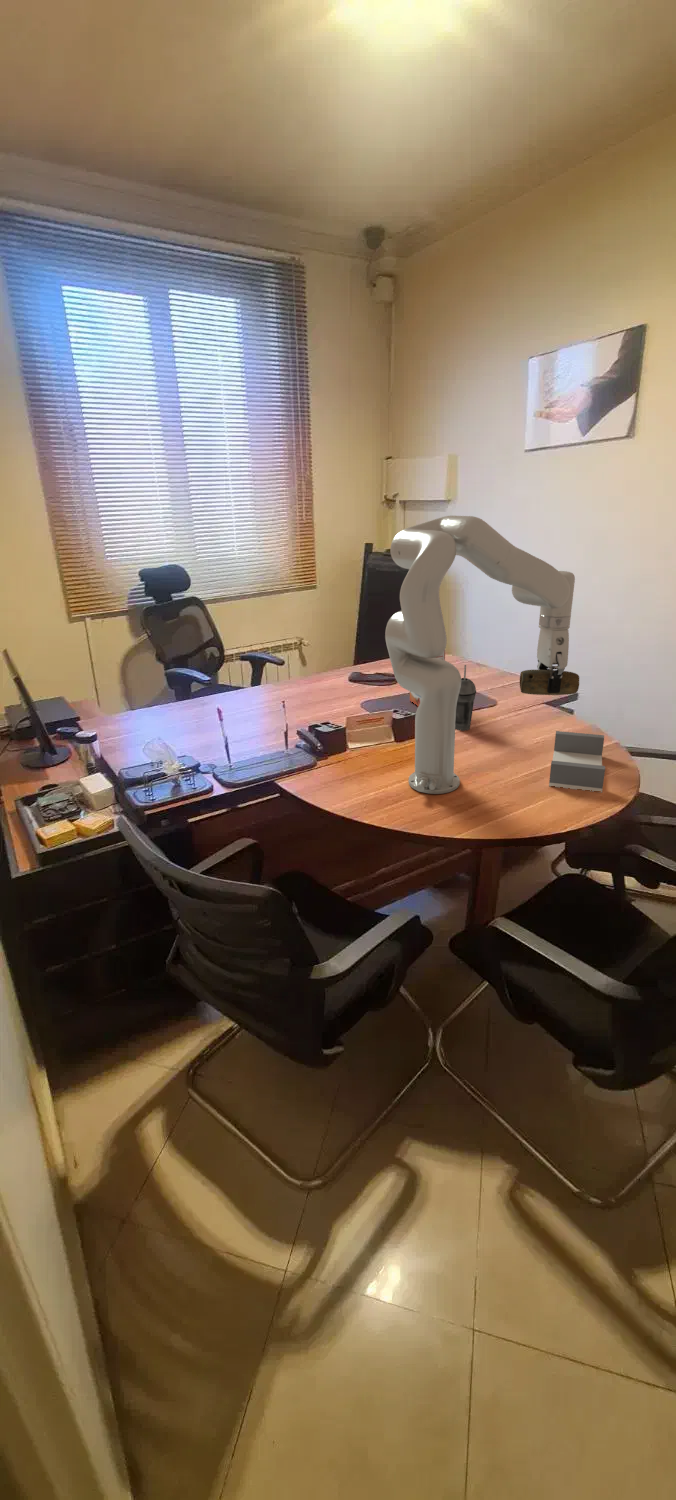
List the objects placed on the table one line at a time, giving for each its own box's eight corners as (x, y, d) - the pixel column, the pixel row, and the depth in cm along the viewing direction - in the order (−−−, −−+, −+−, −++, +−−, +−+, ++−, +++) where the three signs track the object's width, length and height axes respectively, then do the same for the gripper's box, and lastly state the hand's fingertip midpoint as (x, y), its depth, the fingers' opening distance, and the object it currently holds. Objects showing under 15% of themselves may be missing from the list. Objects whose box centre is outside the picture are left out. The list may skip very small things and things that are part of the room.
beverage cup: (473, 723, 193) (476, 660, 185) (475, 732, 186) (479, 667, 178) (449, 723, 193) (451, 660, 185) (451, 732, 187) (453, 667, 179)
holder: (602, 792, 148) (605, 769, 146) (548, 786, 152) (551, 763, 150) (601, 756, 167) (604, 735, 165) (554, 751, 171) (556, 730, 169)
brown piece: (521, 698, 165) (523, 674, 162) (516, 690, 171) (518, 666, 169) (580, 698, 164) (583, 673, 161) (573, 690, 170) (575, 666, 168)
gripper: (583, 628, 152) (574, 697, 159) (556, 614, 168) (549, 678, 175) (552, 629, 152) (545, 699, 159) (528, 615, 168) (523, 679, 175)
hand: (547, 687), depth 167 cm, fingers closed on brown piece, 7 cm apart
